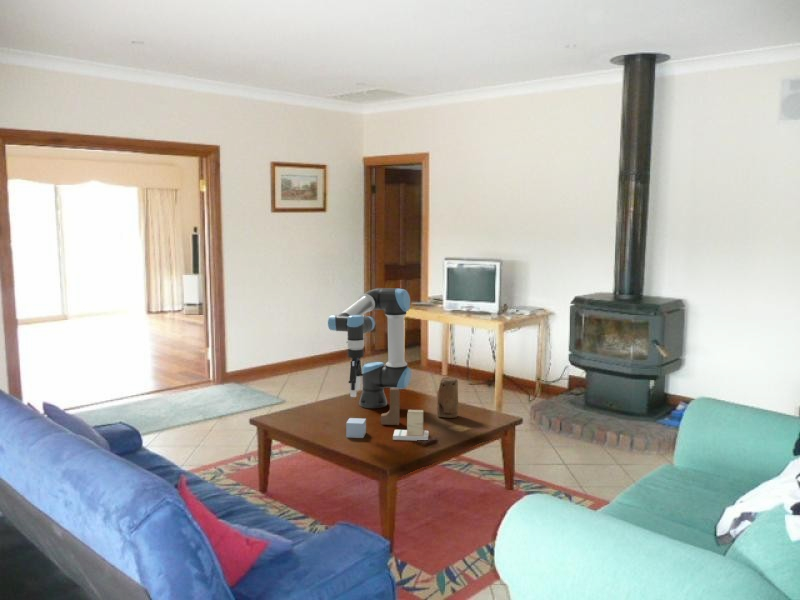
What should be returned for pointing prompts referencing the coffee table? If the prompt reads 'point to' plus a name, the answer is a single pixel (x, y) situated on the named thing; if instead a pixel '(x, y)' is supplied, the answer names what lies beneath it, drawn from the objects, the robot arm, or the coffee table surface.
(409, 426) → the beige box
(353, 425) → the slate block
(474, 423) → the coffee table surface
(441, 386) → the block
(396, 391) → the wooden block
